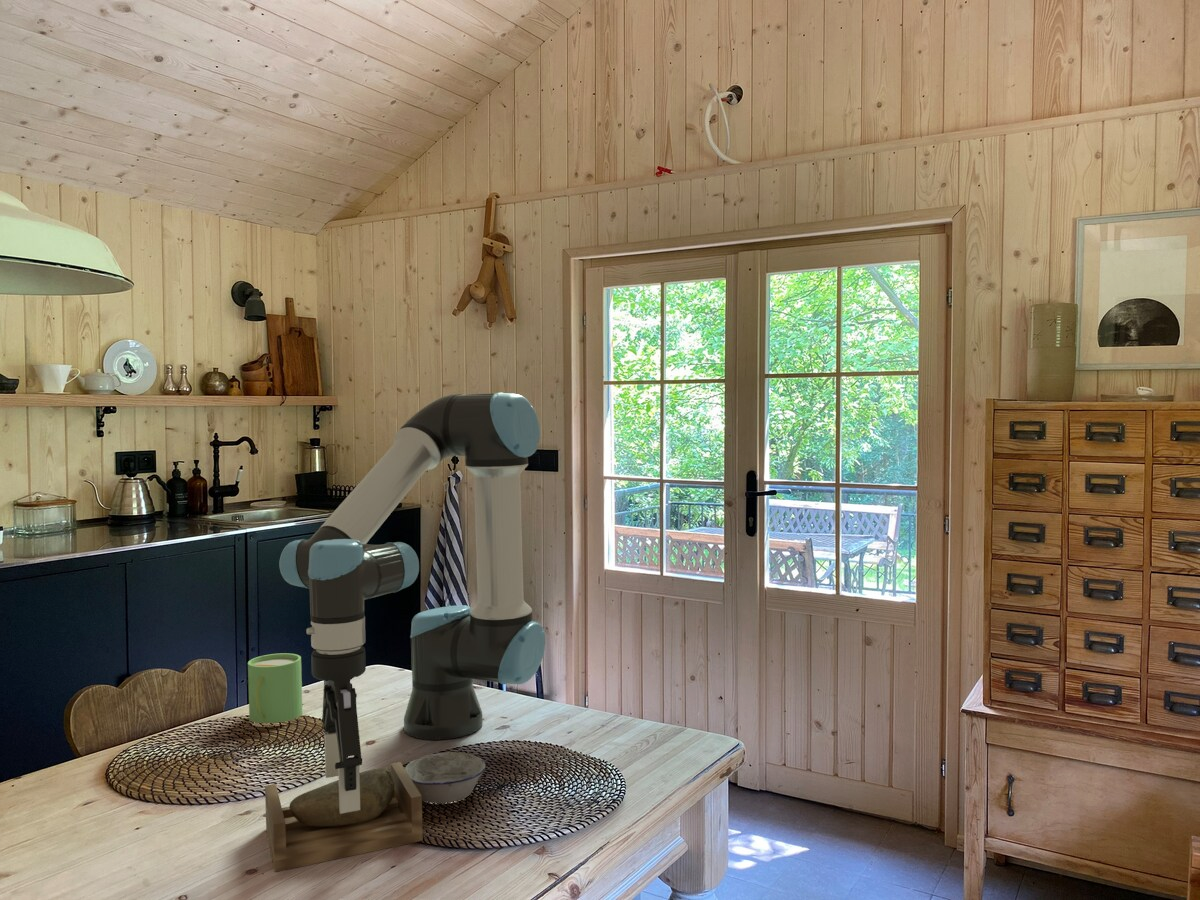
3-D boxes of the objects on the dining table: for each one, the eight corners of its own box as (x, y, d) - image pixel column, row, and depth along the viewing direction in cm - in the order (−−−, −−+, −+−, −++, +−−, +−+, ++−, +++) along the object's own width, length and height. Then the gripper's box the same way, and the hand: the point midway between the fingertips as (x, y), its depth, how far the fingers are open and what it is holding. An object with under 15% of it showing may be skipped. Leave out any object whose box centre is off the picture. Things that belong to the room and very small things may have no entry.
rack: (401, 802, 142) (400, 762, 141) (422, 840, 129) (421, 795, 129) (266, 828, 133) (264, 785, 133) (274, 872, 120) (273, 824, 120)
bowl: (431, 820, 135) (430, 789, 135) (389, 794, 145) (388, 765, 145) (501, 795, 144) (501, 765, 144) (458, 772, 154) (457, 744, 153)
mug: (263, 709, 188) (262, 652, 187) (311, 711, 186) (309, 653, 186) (231, 730, 175) (229, 670, 175) (281, 732, 174) (279, 671, 173)
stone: (411, 810, 130) (376, 758, 128) (323, 871, 127) (285, 819, 124) (401, 783, 138) (368, 733, 136) (318, 839, 135) (282, 789, 132)
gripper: (301, 632, 140) (304, 766, 141) (323, 673, 117) (327, 833, 118) (350, 626, 143) (353, 758, 144) (381, 665, 120) (385, 822, 121)
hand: (342, 792), depth 131 cm, fingers open, 13 cm apart
